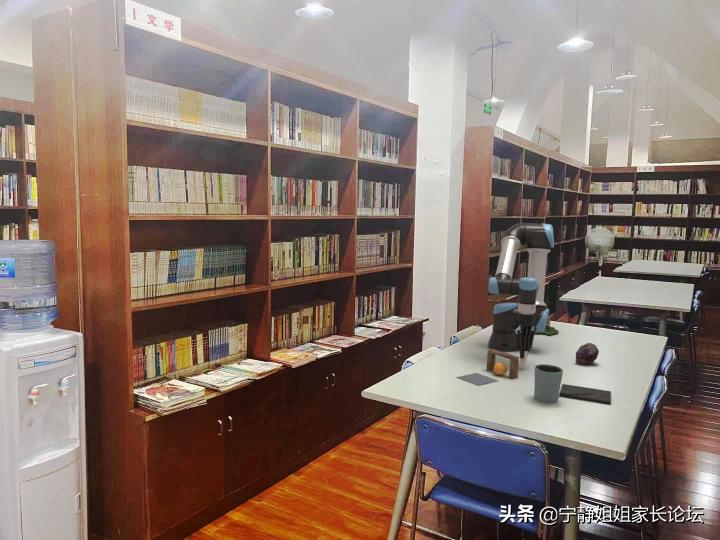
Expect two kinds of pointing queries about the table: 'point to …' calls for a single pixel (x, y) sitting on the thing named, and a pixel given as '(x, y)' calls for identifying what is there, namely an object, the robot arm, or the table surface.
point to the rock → (586, 354)
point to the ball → (500, 368)
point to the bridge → (513, 359)
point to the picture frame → (585, 394)
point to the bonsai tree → (548, 320)
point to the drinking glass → (547, 383)
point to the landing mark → (477, 379)
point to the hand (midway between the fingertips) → (523, 364)
